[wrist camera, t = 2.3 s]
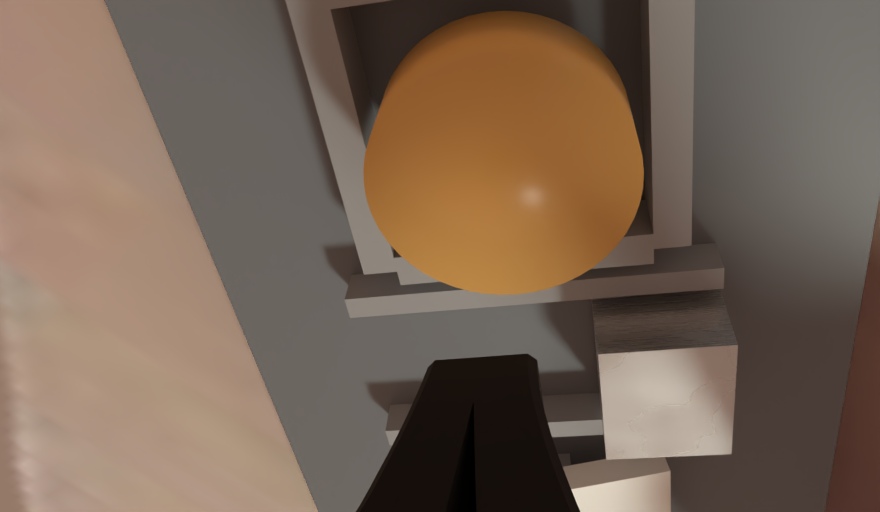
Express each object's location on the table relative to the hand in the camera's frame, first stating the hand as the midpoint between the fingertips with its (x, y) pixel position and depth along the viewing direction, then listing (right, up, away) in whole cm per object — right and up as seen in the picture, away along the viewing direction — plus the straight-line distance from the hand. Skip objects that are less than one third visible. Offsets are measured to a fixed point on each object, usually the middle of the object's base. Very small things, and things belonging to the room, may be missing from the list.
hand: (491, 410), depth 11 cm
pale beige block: (+5, 0, +10) cm, 11 cm away
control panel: (+2, +1, +12) cm, 12 cm away
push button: (+1, +5, +5) cm, 7 cm away
